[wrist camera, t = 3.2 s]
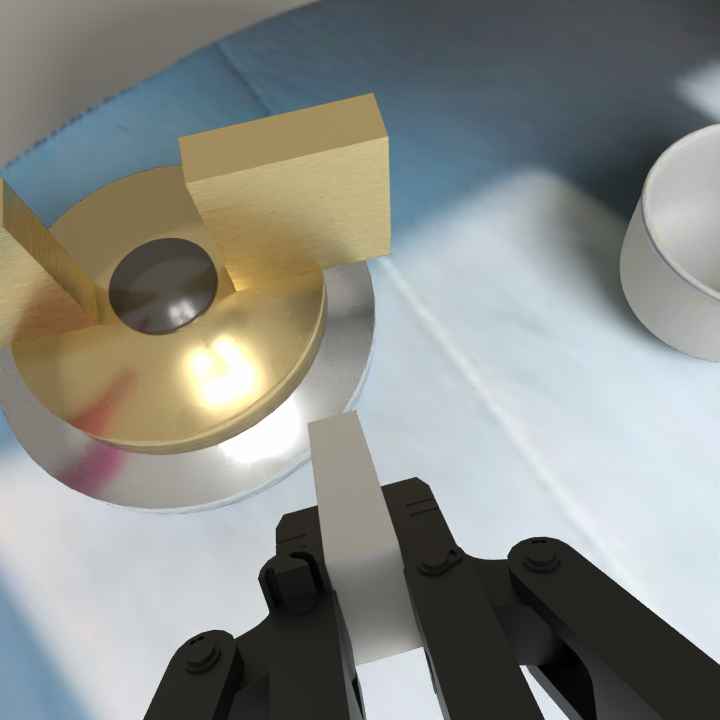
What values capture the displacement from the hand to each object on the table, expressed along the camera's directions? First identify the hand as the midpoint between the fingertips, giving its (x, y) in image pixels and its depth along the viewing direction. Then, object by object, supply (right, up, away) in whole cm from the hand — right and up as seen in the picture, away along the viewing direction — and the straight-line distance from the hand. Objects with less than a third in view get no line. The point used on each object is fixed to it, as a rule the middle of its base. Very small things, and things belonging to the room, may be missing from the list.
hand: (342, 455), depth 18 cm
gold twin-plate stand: (-9, +6, +15) cm, 18 cm away
